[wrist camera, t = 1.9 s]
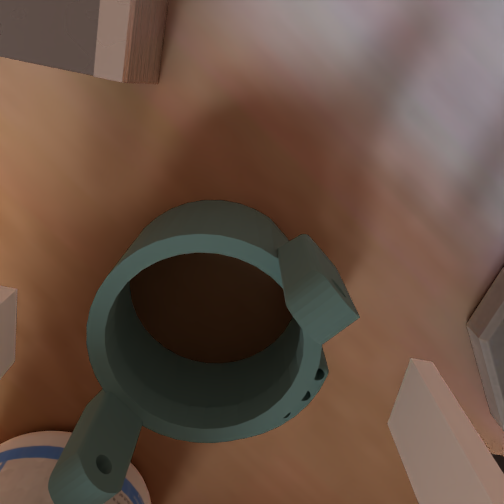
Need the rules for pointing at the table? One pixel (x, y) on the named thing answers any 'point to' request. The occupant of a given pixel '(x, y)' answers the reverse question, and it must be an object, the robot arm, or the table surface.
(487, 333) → the tankard
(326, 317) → the teal pail
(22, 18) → the stand
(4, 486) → the supplement tub
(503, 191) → the table surface
